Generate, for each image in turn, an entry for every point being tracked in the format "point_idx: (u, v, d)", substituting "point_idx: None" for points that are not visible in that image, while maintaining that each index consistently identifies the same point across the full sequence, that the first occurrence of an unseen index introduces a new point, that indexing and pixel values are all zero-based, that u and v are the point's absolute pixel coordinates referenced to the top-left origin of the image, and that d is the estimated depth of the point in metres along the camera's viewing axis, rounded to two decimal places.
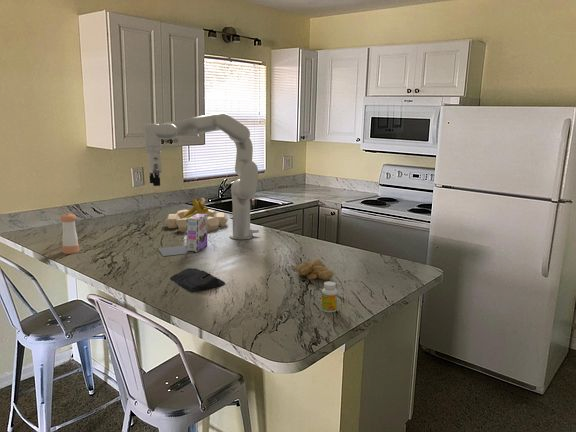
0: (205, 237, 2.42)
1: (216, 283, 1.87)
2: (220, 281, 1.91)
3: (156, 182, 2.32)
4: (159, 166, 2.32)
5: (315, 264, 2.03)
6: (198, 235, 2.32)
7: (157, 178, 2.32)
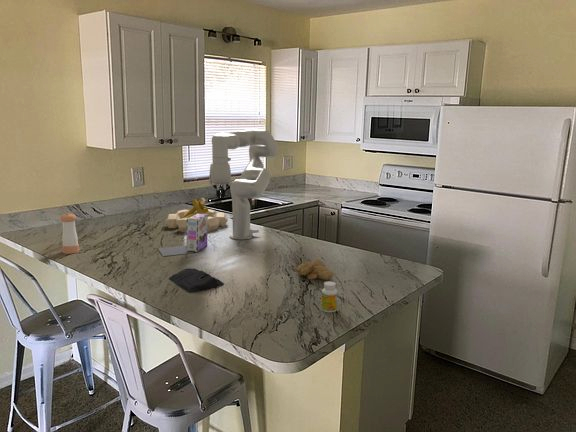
0: (205, 237, 2.42)
1: (214, 283, 1.87)
2: (218, 281, 1.91)
3: None
4: None
5: (315, 264, 2.03)
6: (198, 235, 2.32)
7: None
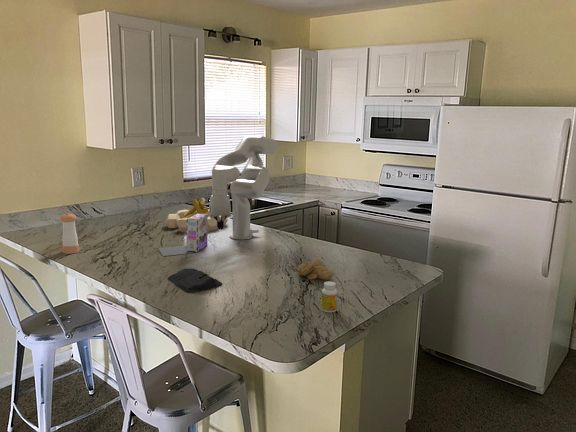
0: (205, 237, 2.42)
1: (212, 283, 1.86)
2: (217, 281, 1.90)
3: None
4: None
5: (315, 264, 2.03)
6: (198, 235, 2.32)
7: None
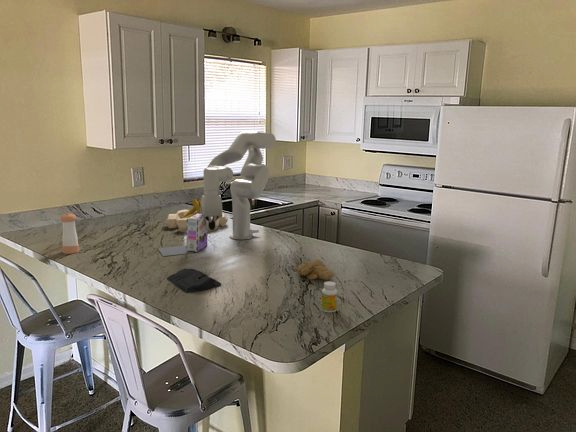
0: (205, 237, 2.42)
1: (211, 284, 1.86)
2: (216, 282, 1.90)
3: None
4: None
5: (315, 264, 2.03)
6: (198, 235, 2.32)
7: None
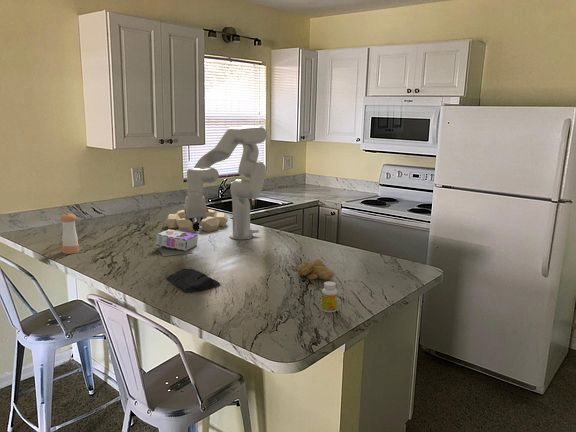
0: (187, 233, 2.44)
1: (210, 284, 1.86)
2: (215, 282, 1.90)
3: None
4: None
5: (315, 264, 2.03)
6: (172, 236, 2.35)
7: None
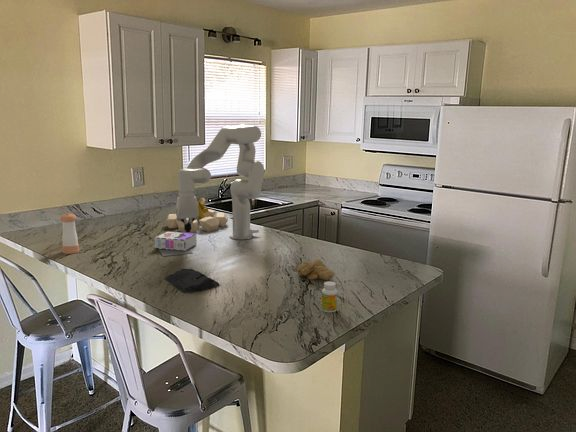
0: (185, 234, 2.44)
1: (210, 284, 1.86)
2: (214, 282, 1.90)
3: None
4: None
5: (316, 264, 2.03)
6: (170, 238, 2.35)
7: None
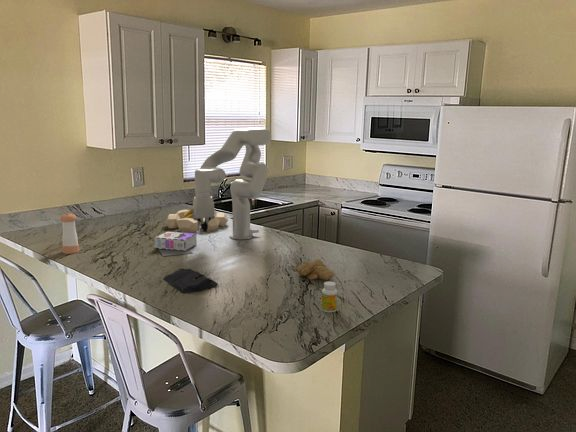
0: (185, 234, 2.44)
1: (208, 284, 1.86)
2: (213, 282, 1.90)
3: None
4: None
5: (316, 264, 2.03)
6: (170, 238, 2.35)
7: None
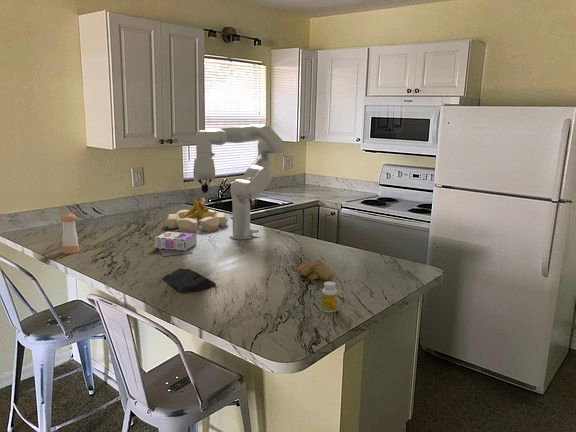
0: (185, 234, 2.44)
1: (206, 284, 1.85)
2: (211, 282, 1.89)
3: None
4: None
5: (316, 264, 2.03)
6: (170, 238, 2.35)
7: None
